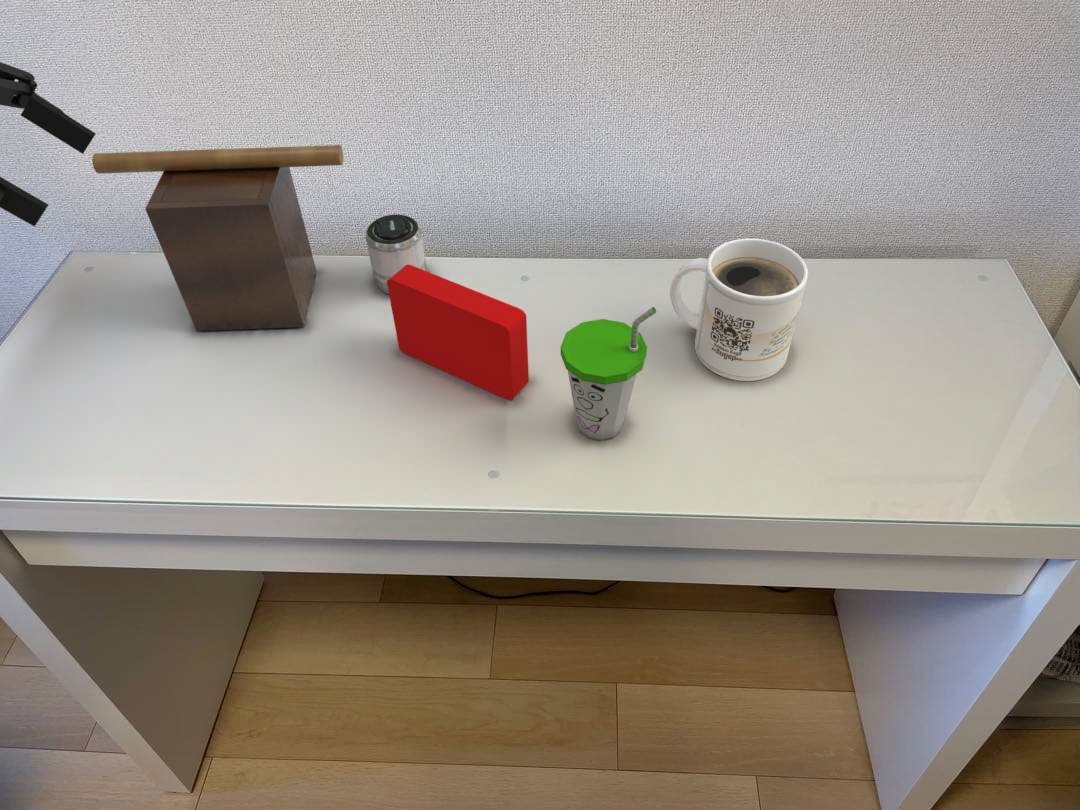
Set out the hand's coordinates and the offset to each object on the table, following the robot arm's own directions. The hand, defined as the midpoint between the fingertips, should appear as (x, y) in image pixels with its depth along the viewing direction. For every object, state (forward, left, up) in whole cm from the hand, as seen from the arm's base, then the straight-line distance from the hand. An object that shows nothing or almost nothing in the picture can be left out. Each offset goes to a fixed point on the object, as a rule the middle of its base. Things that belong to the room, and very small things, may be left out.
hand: (67, 178), depth 87 cm
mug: (+61, -33, -17) cm, 71 cm away
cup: (+43, -38, -17) cm, 60 cm away
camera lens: (+31, -8, -17) cm, 36 cm away
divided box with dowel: (+12, -10, -7) cm, 18 cm away
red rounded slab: (+33, -25, -17) cm, 44 cm away
